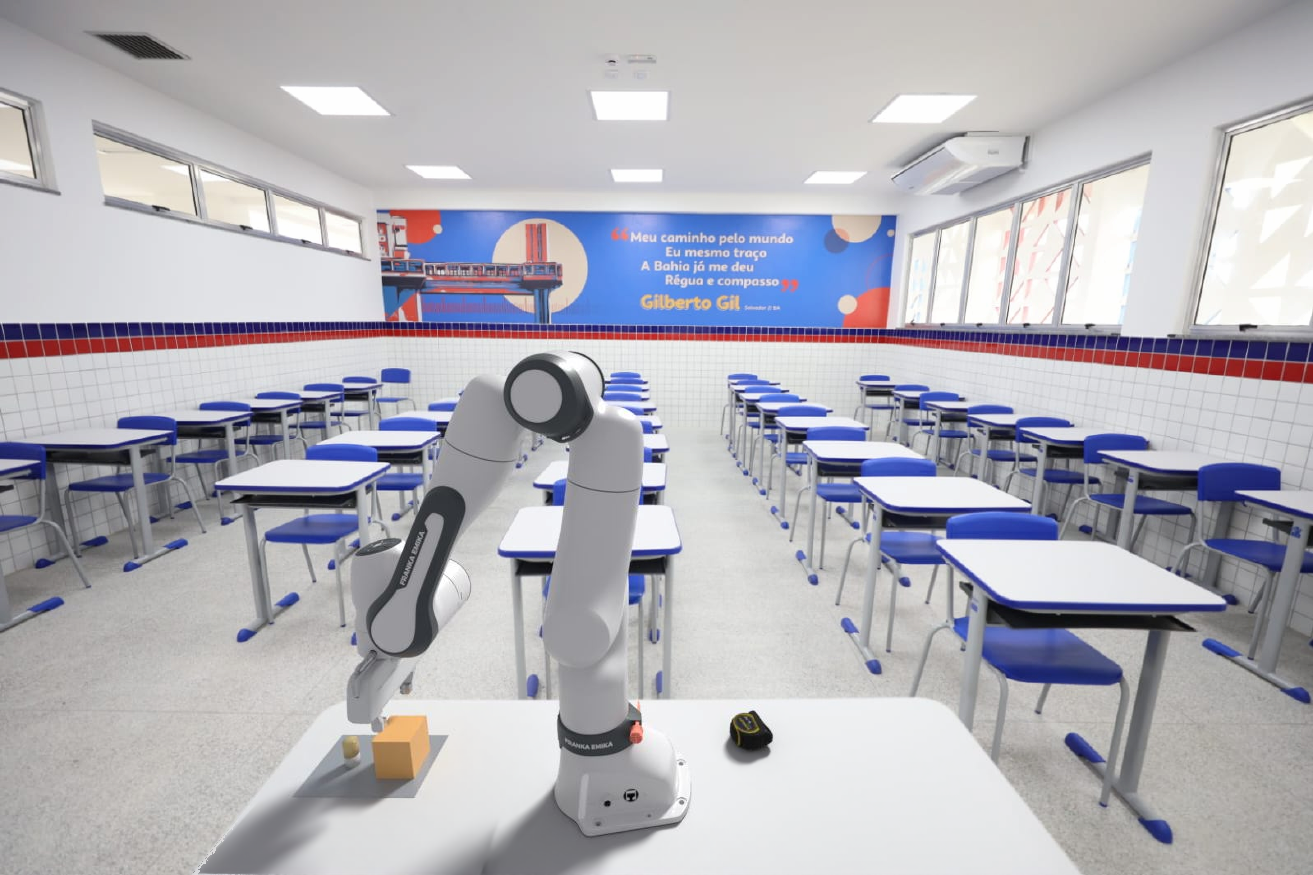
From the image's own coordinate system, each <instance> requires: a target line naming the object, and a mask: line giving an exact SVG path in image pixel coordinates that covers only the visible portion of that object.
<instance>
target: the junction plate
mask: <svg viewBox="0 0 1313 875" xmlns="http://www.w3.org/2000/svg"><path fill="white" fill-rule="evenodd" d="M376 735H377V734H342V735H340V737H339V739H337V741H336V742H335V743H334V745H333V746H332V747H331V748H330V750H329V751H328V752H327V753H326V755H325V756H324V757H323V758H322V760H321V761H320V762H319V763H318V765H317V766H316V767H315V768H314V769H313V770H312V771H311V773H310V774H309V776H308V777H307V778H306V779H305V780H304V781H303V783H302V784H301V786H300V787H299V788H298V789H297V790H296V791H295V793H294V794H293V795H292V798H389V799H390V798H395V799H396V798H398V799H399V798H402V799H403V798H405V799H407V798H408V799H409V798H416V795H417V793H418V792H419V791H420V789H421V786H422V785H423V782H424V781H425V779H426V777H427V776H428V774H429V772H430V770H431V768H432V766H433V764H434V763H435V761H436V759H437V757H438V756H439V754H440V752H441V750H443V746H444V745H445V743H446V741H447V740H448V737H449V734H429V743H430V752H429V754H428V755H427V757H426V759H425V761H424V762H423V764H422V766H421V767H420V769H419V771H418V773H417V774H416V776H415V778H414V779H387V778H376V771H375V764H374V757H373V749H372V740H373V739H374V738H375V736H376Z"/></svg>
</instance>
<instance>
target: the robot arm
mask: <svg viewBox="0 0 1313 875" xmlns="http://www.w3.org/2000/svg"><path fill="white" fill-rule="evenodd" d="M605 379H606V378H605V376H604V373H603V371H602V369H601V367H600V365H598V363H597V362H596V361H595V360H594V359H592V358H591V357H590V356H588V355H586V354H584V353H581V352H579V351H572V350H569V351H567V350H561V349H556V350H555V349H554V350H548V351H544V352H541V353H535V354H531V355H528V356H526V357H524V358H523V359H521V361H519V362H518V363H516V364H515V365H514V366H513V368H512V369H511V370H510V372H509V373H508V374H507V376H506V375H503V374H498V373H484V374H479V375H478V376H475V377H473V378H472V379H471V380H470V381H469V382H468V383H467V384H466V387H465V388H464V390H463V391H462V393H461V395H460V397H459V399H458V401H457V403H456V405H455V407H454V409H453V412H452V414H451V417H450V419H449V422H448V425H447V428H446V430H445V433H444V436H443V438H442V439H443V440H442V443H441V446H440V449H439V453H438V456H437V458H436V462H435V466H434V469H433V472H432V473H431V474H432V475H431V478H430V481H429V484H428V487H427V488H426V491H425V494H424V496H423V499H422V501H421V502H422V503H421V505H420V506H419V509H418V512H417V514H416V516H415V518H414V521H413V523H412V525H411V528H410V531H409V533H408V536H407V538H406V541H405V540H404V539H402V538H399V537H398V538H397V537H387V538H383V539H379V540H376V541H373V542H370V543H368V544H366V545H364V547H361V548H360V549H359V550H357V551H356V552H355V553H354V554H353V556H352V559H351V564H350V591H351V592H350V594H351V600H352V605H353V606H354V608H355V614H356V615H355V619H354V632H355V639H356V649H357V653H358V655H359V656H360V657H362V658H363V659H362V661H361V662H360V663H358V664H357V665H356V666H355V668H354V671H353V672H352V673H351V675H350V676H349V678H348V681H347V685H346V717H347V721H348V722H350V723H351V724H355V725H356V724H358V725H369V724H370V726H371V731H372V732H373V733H376V734H378V733H381V732H382V731H383V730H384V728H385V727H386V725H387V722H386V721H387V720H388V718H387V716H382V714H383V709H385V707H386V706H387V704H388V703H389V701H390V700H391V699H392V698H393V697H394V695H395V694H396V692H397V691H398V690H399V694H401V695H410V694H411V693H412V691H413V690H414V688H415V687H414V678H415V674H416V671H417V670H416V669H417V665H418V663H419V662H420V661H421V659H423V656H425V655H426V651H427V650H428V649H429V648H430V646H431V645H432V643H433V642H434V641H435V640H436V638H437V636H438V634H439V633H440V632H441V631H442V630H443V629H444V628H445V627H446V626H447V624H448V623H449V622H450V621H451V620H452V618H454V617H455V616H456V614H457V613H458V612H459V611H460V609H461V608H463V606H464V605H465V604H466V602H467V601H468V600H469V598H470V595H471V592H472V583H471V579H470V576H469V574H468V572H467V570H466V569H465V568H464V567H463V565H462V564H460V563H459V562H457V561H455V560H454V559H451V557H452V554H453V551H454V549H455V548H456V546H457V544H458V542H459V541H460V538H461V537H462V536H463V535H464V533H465V532H466V530H468V528H469V527H470V526H471V525H472V524H473V523H474V522H475V520H476V519H478V518H479V516H481V515H482V514H483V512H485V511H486V510H487V509H488V508H489V507H490V506H491V505H492V504H493V503H494V502H495V501H496V500H497V499H498V498H499V496H500V495H501V494H502V492H503V490H504V489H505V487H506V485H507V484H508V482H509V480H510V477H512V474H513V471H514V470H515V466H516V464H517V461H518V459H519V456H520V452H521V450H522V446H523V443H524V441H525V438H526V436H527V434H528V432H529V431H531V432H534V433H537V434H539V435H542V436H545V437H547V438H548V439H550V440H552V441H555V443H557V444H566V443H567V444H568V449H569V450H568V451H569V452H568V454H569V455H568V456H569V457H568V467H567V474H566V482H565V492H564V500H563V508H562V518H561V524H560V530H559V531H560V532H559V536H558V542H557V545H556V550H555V555H554V558H553V565H552V570H551V574H550V580H549V586H548V589H547V591H548V592H547V596H546V597H547V598H546V603H545V608H544V609H545V610H544V615H543V619H542V620H543V621H542V630H541V631H542V632H541V638H542V643H543V646H544V648H545V650H546V652H547V653H548V654H549V656H550V657H551V658H552V659H553V660H554V661H556V662H557V671H556V672H557V688H558V703H559V704H558V706H559V710H558V714H557V720H556V728H557V729H556V730H557V731H556V732H557V740H558V746H559V749H560V754H559V767H558V771H557V772H558V773H557V776H556V777H557V778H556V780H555V781H556V782H555V784H554V790H553V791H554V792H553V794H554V799H555V802H556V804H557V806H558V808H559V809H560V811H562V813H563V814H565V815H566V816H568V818H570V819H572V820H573V821H575V823H577V825H578V828H579V829H580V831H581V832H582V833H583V834H584V835H585V836H586V837H596V836H601V835H607V834H613V833H619V832H626V831H631V830H632V831H633V830H638V829H644V828H651V827H657V826H658V827H659V826H664V825H669V824H674V823H675V824H676V823H679V822H681V821H682V820H683V819H684V817H685V815H686V814H687V812H688V810H689V808H690V807H689V806H690V802H691V799H692V796H691V795H692V781H691V773H690V768H689V765H688V763H687V761H686V759H685V757H684V756H683V755H682V753H681V752H679V751H677V750H675V748H674V746H673V744H672V742H671V740H670V738H669V737H668V735H667V734H665V733H664V732H663V731H660V730H658V729H657V728H655V727H653V726H651V725H649V724H647V723H646V722H644V721H643V716H642V712H641V704H640V701H639V700H638V701H637V704H636V705H637V706H636V707H635V705H633V704H632V703H631V702H630V701H629V680H628V675H629V674H628V654H629V653H628V652H629V651H628V649H629V609H630V608H629V604H630V602H629V600H630V596H629V595H630V594H629V593H630V591H629V588H630V586H629V584H630V583H629V582H630V581H629V569H630V564H631V558H632V552H633V546H634V541H635V540H634V539H635V534H636V533H635V532H636V527H637V518H638V512H639V511H638V510H639V505H640V498H641V490H642V485H643V484H642V483H643V474H644V465H645V464H644V463H645V461H644V458H645V457H644V456H645V450H644V449H645V446H644V444H645V442H644V428H643V424H642V422H641V420H640V419H639V417H638V416H637V415H636V414H635V413H634V412H632V411H630V410H629V409H627V408H624V407H621V406H619V405H618V406H617V405H610V404H609V403H607V402H606V401H604V399H603V398H604V395H605V391H606V380H605Z"/></svg>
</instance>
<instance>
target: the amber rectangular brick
mask: <svg viewBox="0 0 1313 875" xmlns="http://www.w3.org/2000/svg"><path fill="white" fill-rule="evenodd" d="M386 722H387V725H386V727H385V728H384V730H383V731H382V732H381V733H376V734H375V735H376V736H375V738H374V739H373V740H372V749H373V757H374V764H375V771H376V778H387V779H414V778H415V776H416V774H417V773H418V771H419V769H420V767H421V766H422V764H423V762H424V761H425V759H426V757H427V755H428V754H429V752H430V743H429V735H430V734H429V727H428V718H427V715H405V714H403V715H402V714H401V715H398V714H397V715H390V716H389V717H388V718H387V721H386Z"/></svg>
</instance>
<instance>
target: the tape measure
mask: <svg viewBox="0 0 1313 875" xmlns="http://www.w3.org/2000/svg"><path fill="white" fill-rule="evenodd" d="M729 735H730V738H731V739H732V741H733V743H734V744H735V745H736V746H738V747H739V748H740V749H744V750H748V751H754V750H755V751H756V750H759V749H760V748H762V747H765V746H768V745H770V744H771V743H772V742H773V739H774V734H773V732H772V730H771V729H770V728H769V726H768V725H766V723H765V722H764V721H763V719H762V718H761V717H760V715H759V714H758V713H757V711H755V710H754V709H753V710H749V711H748V712H740V713H738V714H736V715H735V716H734V717H733V718H732V719H731V722H730V723H729Z"/></svg>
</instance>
